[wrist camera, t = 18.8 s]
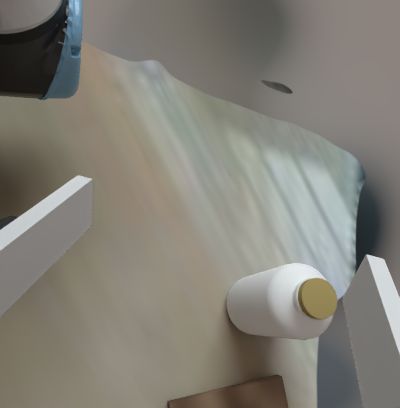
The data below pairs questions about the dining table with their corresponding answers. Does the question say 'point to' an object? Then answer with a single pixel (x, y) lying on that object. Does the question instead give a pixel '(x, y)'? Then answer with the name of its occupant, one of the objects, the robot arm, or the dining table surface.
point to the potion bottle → (283, 303)
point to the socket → (239, 396)
